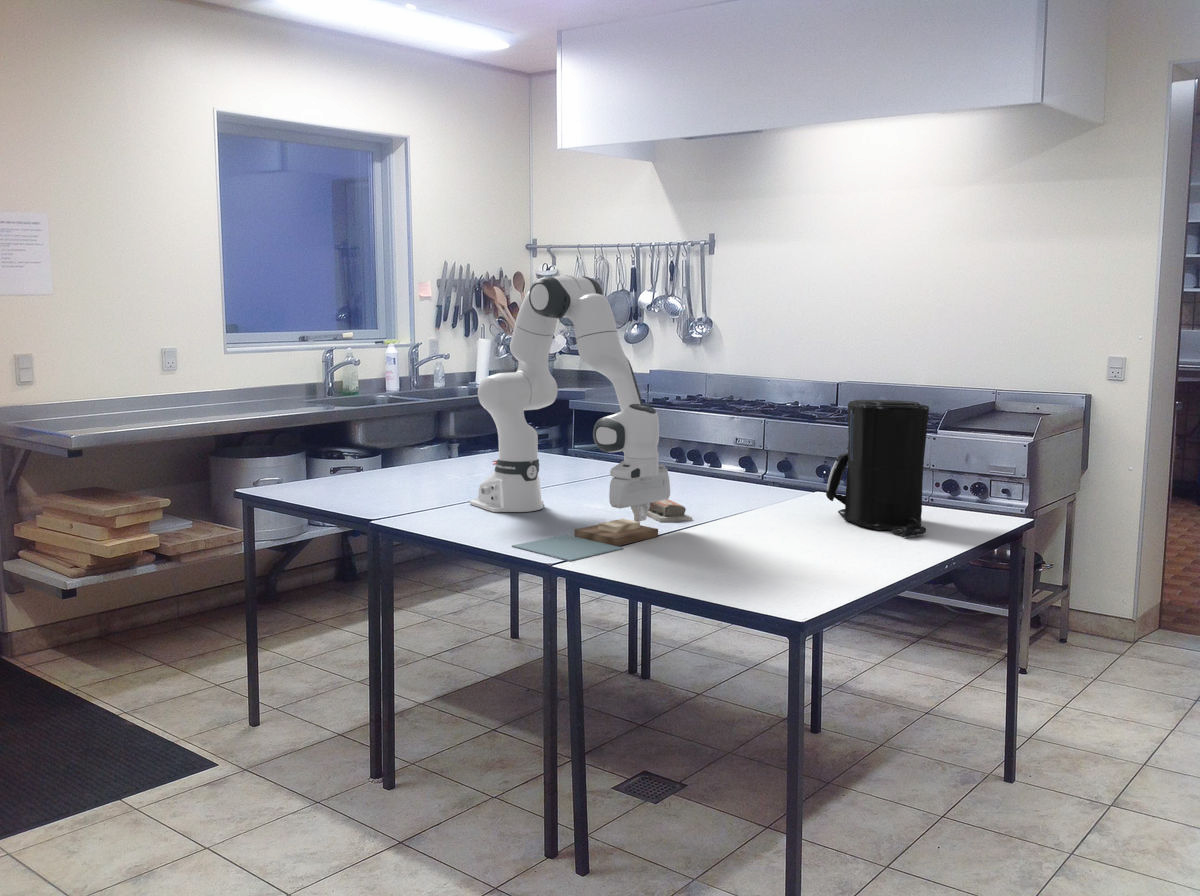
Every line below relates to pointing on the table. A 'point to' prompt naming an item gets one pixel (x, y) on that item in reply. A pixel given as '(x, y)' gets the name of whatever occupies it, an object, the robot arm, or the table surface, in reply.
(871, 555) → the table surface
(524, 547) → the rubber mat
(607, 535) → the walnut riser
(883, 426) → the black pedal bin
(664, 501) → the packaged product
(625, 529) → the birch block
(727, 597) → the table surface
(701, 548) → the table surface
